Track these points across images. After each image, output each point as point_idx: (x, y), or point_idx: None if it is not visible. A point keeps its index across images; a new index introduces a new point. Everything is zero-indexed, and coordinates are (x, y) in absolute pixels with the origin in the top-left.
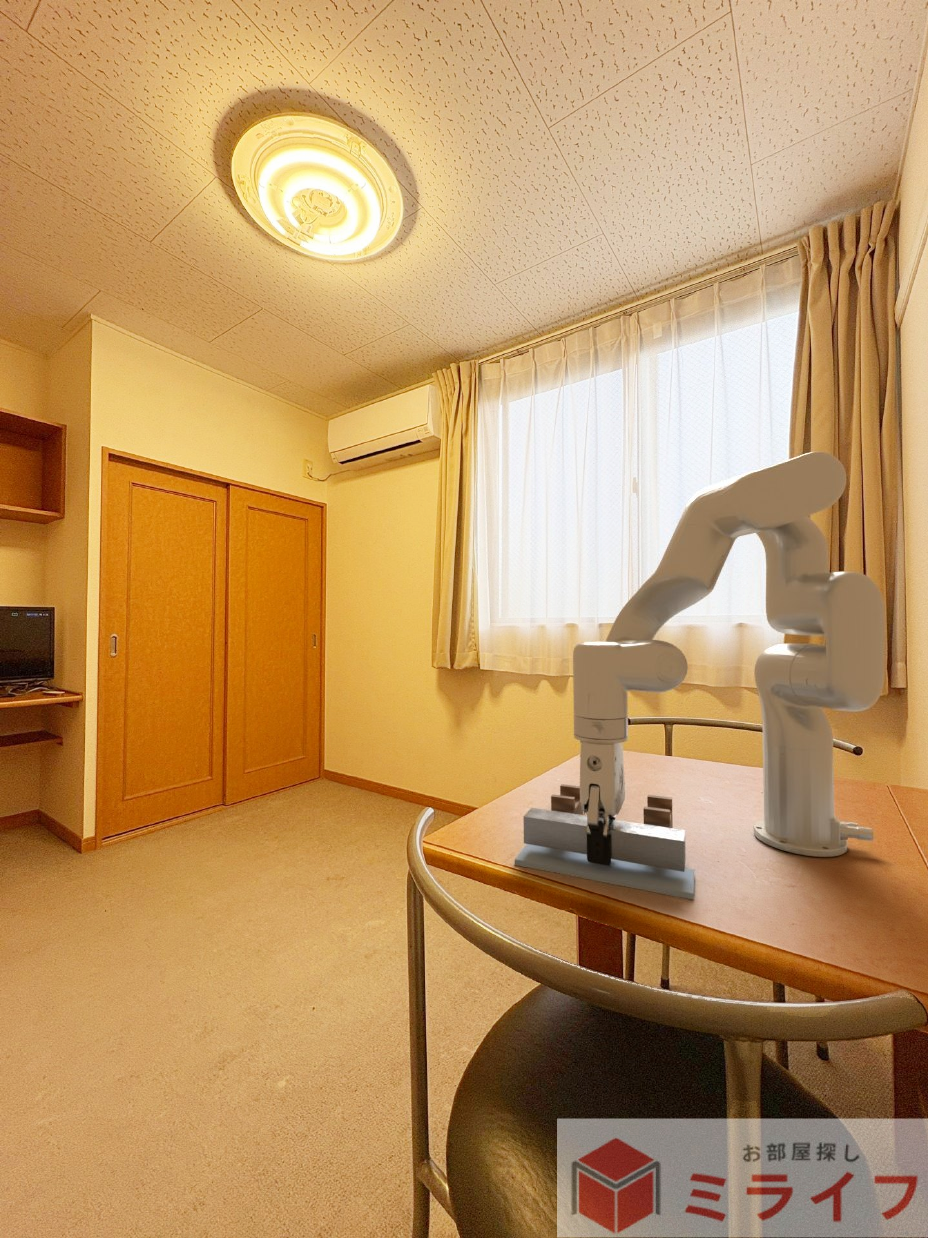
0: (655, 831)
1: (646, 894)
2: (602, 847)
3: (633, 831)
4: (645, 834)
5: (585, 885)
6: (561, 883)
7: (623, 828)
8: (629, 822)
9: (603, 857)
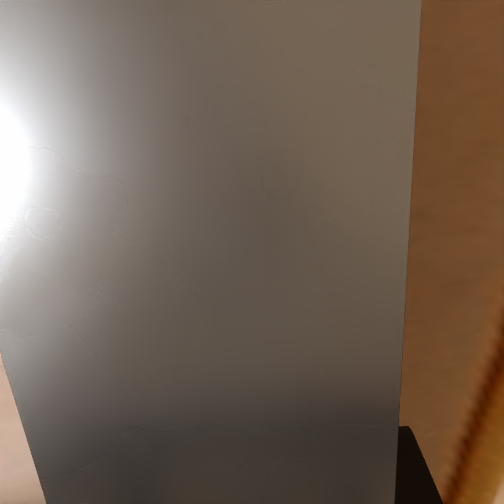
0: (182, 116)
1: (426, 121)
2: (437, 494)
3: (329, 389)
4: (381, 237)
5: (439, 402)
6: (456, 483)
7: (289, 494)
8: (51, 469)
9: (409, 431)
